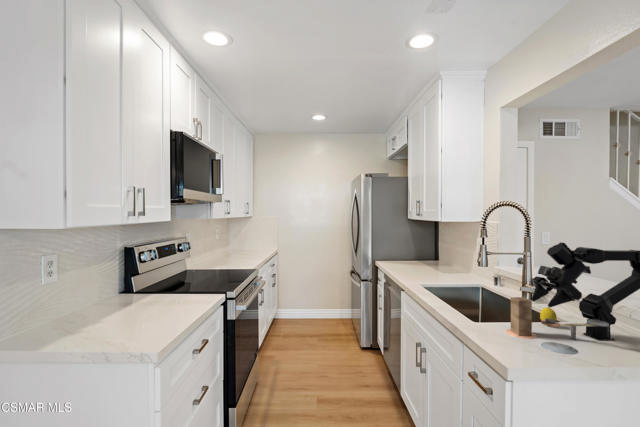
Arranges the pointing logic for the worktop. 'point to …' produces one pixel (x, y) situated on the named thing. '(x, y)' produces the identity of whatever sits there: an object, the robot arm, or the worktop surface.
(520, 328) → the walnut block
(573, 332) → the balance
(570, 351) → the slate dish
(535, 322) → the worktop surface
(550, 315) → the lemon
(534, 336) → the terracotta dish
